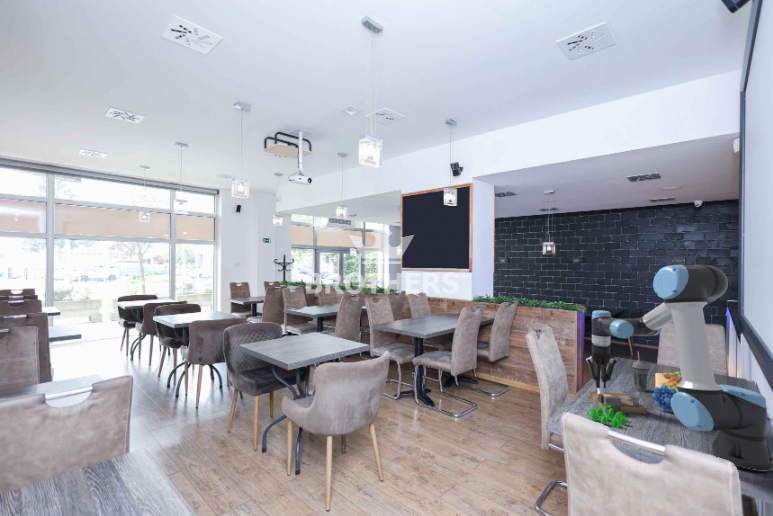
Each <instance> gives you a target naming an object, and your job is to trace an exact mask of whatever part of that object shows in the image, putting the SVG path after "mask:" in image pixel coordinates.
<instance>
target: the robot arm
mask: <svg viewBox="0 0 773 516" xmlns="http://www.w3.org/2000/svg"><path fill="white" fill-rule="evenodd" d="M652 284H653V285H652V287H653V290H654V291H653V292H654V293H655V294H656V295H657V296H658V298H661V299H663V302H662V303H661V304H659V305H658V306H656V307H655V308H653V309H652V310H650V311H649V312H647V313H646V314H644V315H643V316H641V317H639V318H616V317H615V318H614V317H612V314H611V312H610V311H607V310H601V309H600V310H593V311H592V313H591V354H590V357H586V358H585V361H586V363H587V366H588V369H589V373H590V378H591V379H592V380H594V381H595V387H596V389H597V391H596V392H597V394H603V395H604V392H605V389H606V383H607V382H609V381H611V379H612V374H613V371H614V368H615V365H616V363H617V360H616V359H614V358H612V356H611V340H612V339H611V336H613V337H616V338H618V339H628V338H630V337H652V336H653V337H654V336H658V335H659V334H660V333H661V331H662V328H663V327H665V326H667V325H668V324H670V323H672V325H673V331H674V332H673V333H674V337H675V343H676V344H675V345H676V346H675V347H676V351H677V357H678V363H679V369H680V370H679V372H681V378H682V380H681V382H680V383H679V384H678V385H677V388H678V392H677V393H676V394H674V395H673V397H672V398H671V407H672V410H673V412H674V415H675V417H676V419H677V420H679V422H680V423H681V424H682V425H683V426H684V427H686V428H688V429H691V430H693V431H697V432H698V431H701V432H702V431H703V432H711V431H716V432H715V433H714V436H713V439H712V441H711V443H710V453H711V454H712V455H713V457H715V456H717V457H720V458H723V459H726V460H729V461H731V462H733V463H734V464H735V465H736V466H735V467H737V465H738V466H740V467H745V468H750V469H756V470H770V469H772V468H773V456H772V454H771V451H770V448H769V445H768V443H767V410H768V407H767V400H766V398H765V396H763V394H761V393H759V392H756V391H753V390H751V389H748V388H743V387H738V386H735V385H730V384H718V383H717V382H716V379H715V374H714V367H713V362H712V355H711V350H710V344H709V338H708V332H707V326H706V321H705V315H704V314H705V313H704V310H703V309H704V307H705V306H706V305H710V304H711V303H713V302H715V301H716V300H717V299H720V298H721V297H722V296H723V295H724V294H725V293H726V291H727V290H728V288H729V287H728V286H729V280H728V278H727V276H726V274H725V273H724V272H723V271H722V270H721V269H719V268H717V267H715V266H712V265H708V264H707V265H706V264H701V265H700V264H699V265H698V264H673V265H666V266H663V267H662V268H660V269H659V270H658V271H657V273H655V276H654V277H653V283H652ZM593 362H594V364H593ZM594 366H595V367H594ZM673 412H672V413H673ZM717 457H716V458H717ZM740 467H739V468H740Z"/></svg>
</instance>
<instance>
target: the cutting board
mask: <svg viewBox="0 0 773 516" xmlns="http://www.w3.org/2000/svg"><path fill="white" fill-rule="evenodd" d="M654 378H655V386H654V387H659V388H660V387H661V385H665V386H667V387H668V388H669V389H670V388H674V389H675V390H676V391H677V392H678V388H677V385H678V384H679V383H680V382H681V380H682V378H681V371H675V372H671V371H668V372H663V373H662V372H655V376H654ZM660 389H661V388H660Z"/></svg>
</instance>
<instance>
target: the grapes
mask: <svg viewBox="0 0 773 516" xmlns="http://www.w3.org/2000/svg"><path fill="white" fill-rule="evenodd" d="M660 388H661V389H660ZM660 388H659V387H655V386H654V388H653V391H654V392H653V393H651V398H652V399H653V400H655V401H654V404H655V406H656V407H657V408H660V409H661V408H662V410H663V412H665V413H671V412H672V413H674V412H673V410H672V407H671V398H672V397H673V395H674V394H676V393H677V391H676V390H675V389H674V388H670V389H669V388H668V387H667V386H665V385H661V387H660Z"/></svg>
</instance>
